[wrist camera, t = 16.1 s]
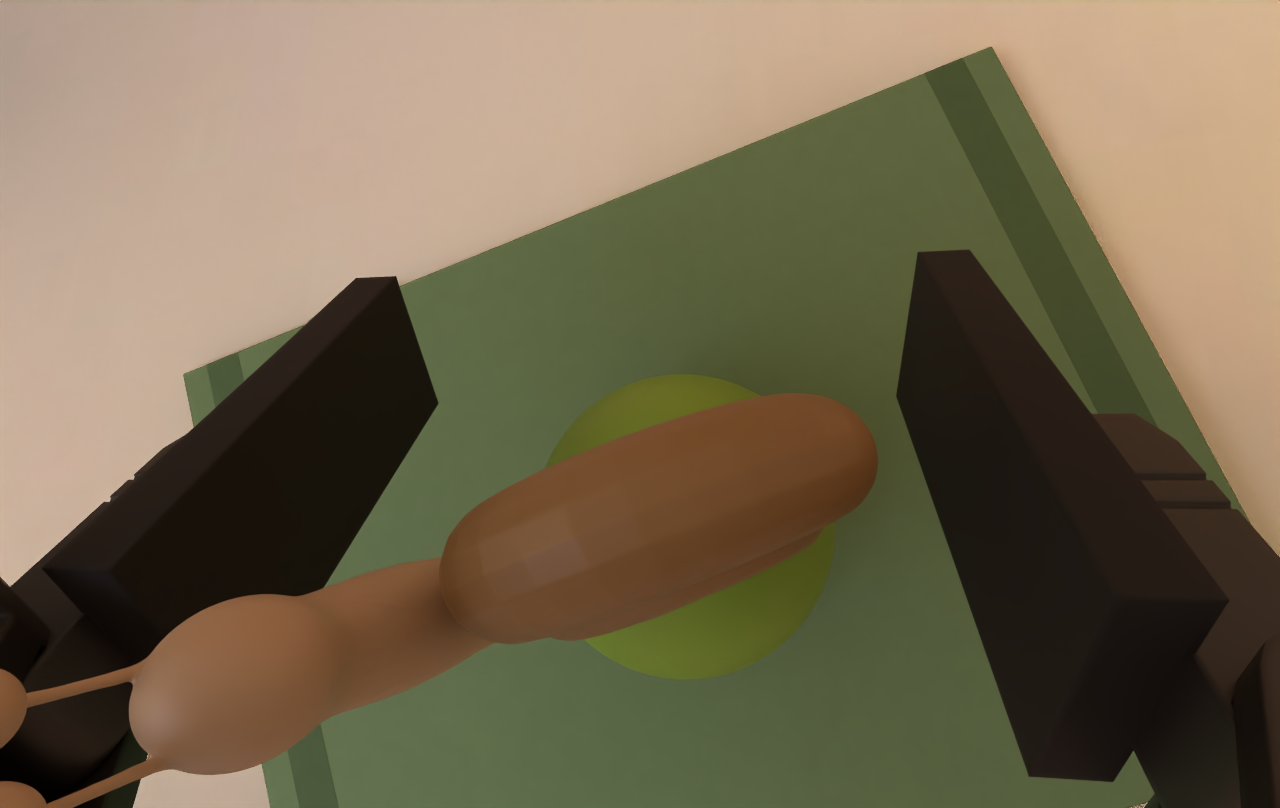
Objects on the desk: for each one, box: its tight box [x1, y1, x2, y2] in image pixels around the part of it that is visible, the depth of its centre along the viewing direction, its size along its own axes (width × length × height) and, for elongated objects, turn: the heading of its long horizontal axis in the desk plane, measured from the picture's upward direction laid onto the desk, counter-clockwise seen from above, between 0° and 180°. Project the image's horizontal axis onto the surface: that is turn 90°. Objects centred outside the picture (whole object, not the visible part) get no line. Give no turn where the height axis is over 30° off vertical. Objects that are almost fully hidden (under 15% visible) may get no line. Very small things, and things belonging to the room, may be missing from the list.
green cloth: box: [183, 47, 1251, 808], centre depth 15 cm, size 16×22×1 cm
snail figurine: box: [0, 374, 878, 808], centre depth 9 cm, size 5×6×12 cm
